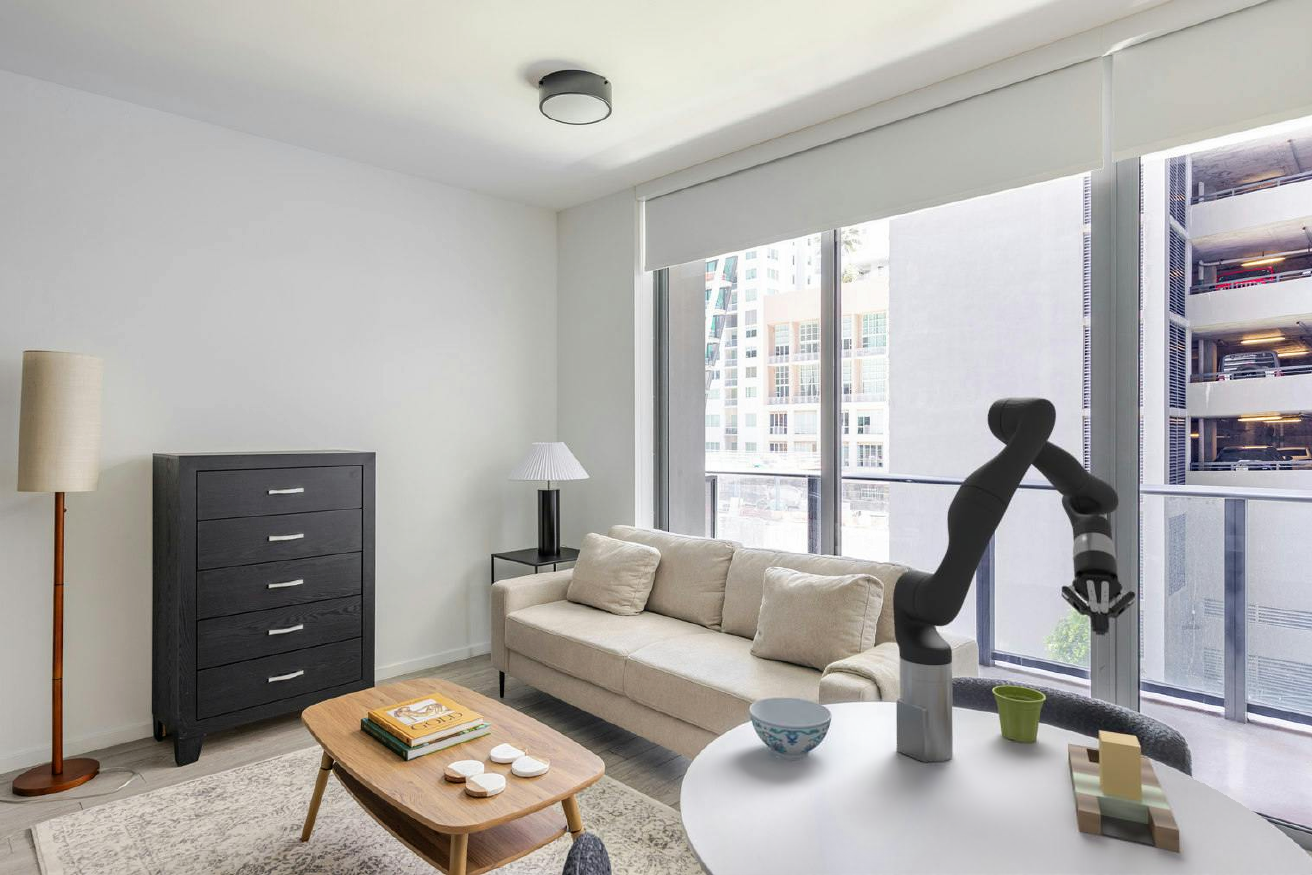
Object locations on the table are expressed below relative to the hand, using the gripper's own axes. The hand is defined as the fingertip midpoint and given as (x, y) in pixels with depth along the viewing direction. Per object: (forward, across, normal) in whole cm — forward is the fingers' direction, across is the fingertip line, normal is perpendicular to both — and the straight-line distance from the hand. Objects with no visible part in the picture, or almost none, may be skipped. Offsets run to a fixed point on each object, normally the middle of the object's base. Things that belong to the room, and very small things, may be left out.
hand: (1100, 632), depth 134 cm
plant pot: (+16, -14, +15) cm, 26 cm away
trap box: (+32, 0, -1) cm, 32 cm away
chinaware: (+37, -52, -6) cm, 64 cm away
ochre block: (+32, 0, -6) cm, 33 cm away
